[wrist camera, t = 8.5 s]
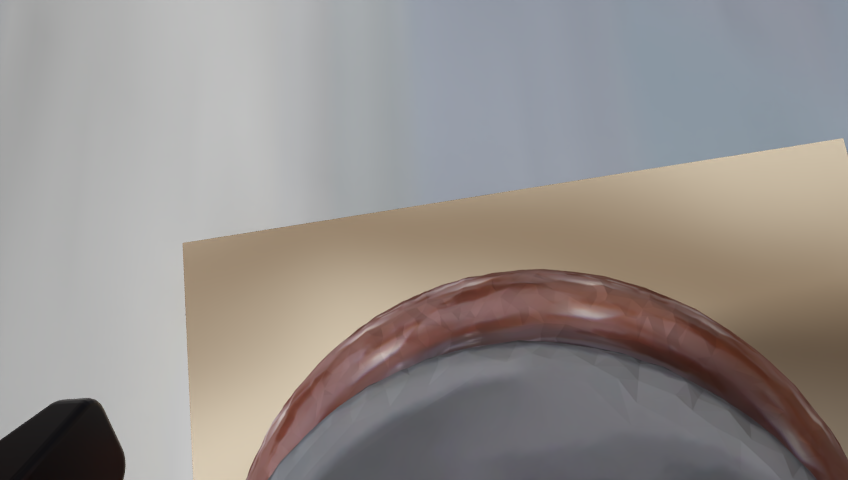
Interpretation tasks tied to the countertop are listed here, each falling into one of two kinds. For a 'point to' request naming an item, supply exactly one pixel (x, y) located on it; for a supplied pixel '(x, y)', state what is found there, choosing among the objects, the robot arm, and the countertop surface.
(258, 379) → the birch board
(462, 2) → the countertop surface
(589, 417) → the supplement bottle
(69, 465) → the robot arm
